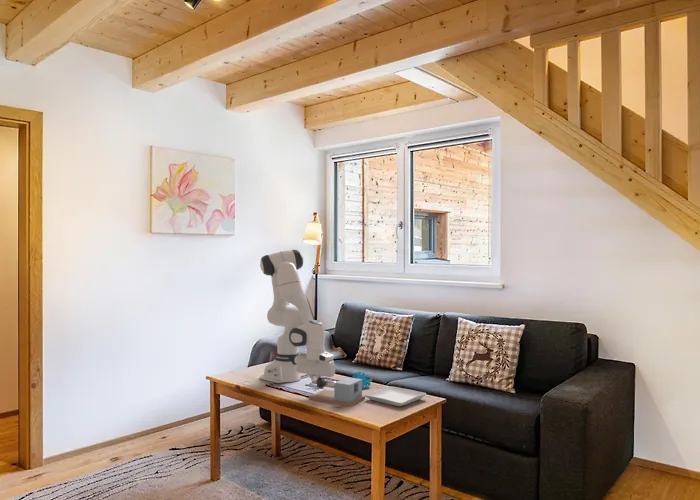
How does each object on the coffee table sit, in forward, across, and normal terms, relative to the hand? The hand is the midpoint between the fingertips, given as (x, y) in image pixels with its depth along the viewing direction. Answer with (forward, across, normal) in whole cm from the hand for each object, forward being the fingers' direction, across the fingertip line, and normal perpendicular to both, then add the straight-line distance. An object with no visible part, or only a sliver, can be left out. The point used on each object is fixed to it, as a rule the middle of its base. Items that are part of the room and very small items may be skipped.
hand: (315, 383), depth 252 cm
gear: (+6, +12, +25) cm, 28 cm away
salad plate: (+6, +36, +14) cm, 39 cm away
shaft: (+2, +9, 0) cm, 9 cm away
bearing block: (+6, +12, +1) cm, 13 cm away
